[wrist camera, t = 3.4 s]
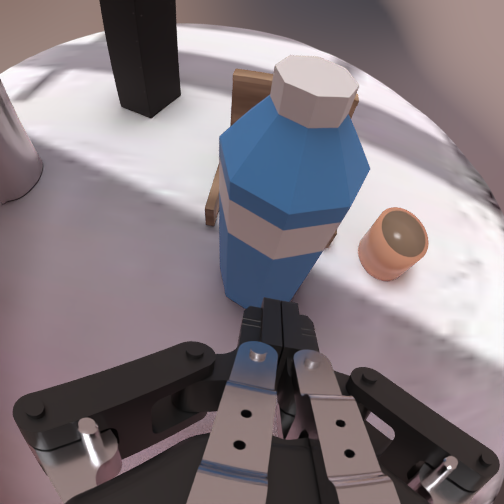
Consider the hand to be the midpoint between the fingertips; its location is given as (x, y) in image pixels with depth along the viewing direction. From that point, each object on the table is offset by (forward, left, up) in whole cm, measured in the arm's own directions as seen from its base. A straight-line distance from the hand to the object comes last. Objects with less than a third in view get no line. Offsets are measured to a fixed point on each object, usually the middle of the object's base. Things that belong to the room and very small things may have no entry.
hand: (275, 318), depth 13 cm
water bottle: (+8, +6, -19) cm, 22 cm away
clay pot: (+22, -2, -19) cm, 29 cm away
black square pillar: (+14, +42, -19) cm, 49 cm away
